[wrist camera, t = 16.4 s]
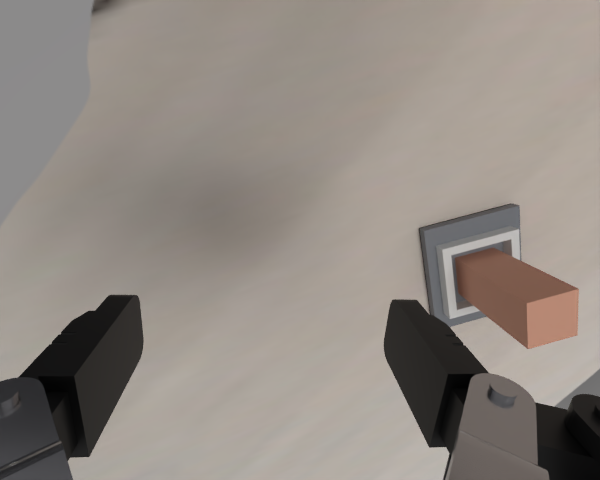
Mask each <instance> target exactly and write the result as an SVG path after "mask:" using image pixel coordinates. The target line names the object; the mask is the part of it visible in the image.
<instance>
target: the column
mask: <svg viewBox="0 0 600 480" xmlns="http://www.w3.org/2000/svg"><path fill="white" fill-rule="evenodd" d="M455 264H456V275H457V285H458V294H460V295H461V296H462V297H463V298H465V299H466V300H467V301H468V302H470V303H471V304H472V305H473V306H475V307H476V308H477V309H478V310H480V311H481V312H482V313H483V314H485V315H486V316H487V317H488V318H490V319H491V320H492V321H493V322H495V323H496V324H497V325H498V326H500V327H501V328H502V329H503V330H505V331H506V332H507V333H508V334H510V335H511V336H512V337H513V338H515V339H516V340H517V341H518V342H520V343H521V344H522V345H523V346H525V347H526V348H527V349H530V348H534V347H537V346H541V345H544V344H548V343H551V342H555V341H559V340H562V339H566V338H569V337H573V336H576V335H577V331H578V295H579V289H578V288H576V287H573V286H571V285H569V284H567V283H565V282H563V281H561V280H559V279H557V278H555V277H553V276H551V275H549V274H547V273H545V272H543V271H541V270H539V269H537V268H534V267H532V266H530V265H528V264H526V263H524V262H522V261H520V260H518V259H516V258H514V257H512V256H510V255H508V254H506V253H504V252H502V251H500V250H498V249H495V248H489V249H486V250H482V251H478V252H474V253H471V254H467V255H463V256H459V257H456V258H455Z"/></svg>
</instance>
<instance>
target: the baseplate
mask: <svg viewBox="0 0 600 480" xmlns="http://www.w3.org/2000/svg"><path fill="white" fill-rule="evenodd" d="M419 229H420V236H421V244H422V252H423V259H424V267H425V275H426V282H427V290H428V298H429V305H430V313H431V315H434V316H435V317H437V318H438V319H440V320H441V321H443V322H444V323H446V324H447V325H448V326H449V327H451V326H454V325H458V324H462V323H465V322H469V321H472V320H476V319H479V318H483V317H487V316H486V315H485V314H483V313H482V312H481V311H480V310H478V309H477V308H476V307H475V306H473V305H472V304H471V303H470V302H468V301H467V300H466V299H465V298H463V297H462V296H461V295H460V294H458V285H457V275H456V264H455V258H456V257H459V256H463V255H467V254H471V253H474V252H478V251H482V250H486V249H489V248H495V249H498V250H500V251H502V252H504V253H506V254H508V255H510V256H512V257H514V258H516V259H518V260H520V261H521V239H520V209H519V205H515V204H509V205H506V206H502V207H498V208H494V209H491V210H487V211H483V212H479V213H476V214H472V215H468V216H464V217H460V218H457V219H453V220H449V221H445V222H442V223H438V224H434V225H430V226H427V227H423V228H419Z"/></svg>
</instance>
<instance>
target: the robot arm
mask: <svg viewBox="0 0 600 480" xmlns="http://www.w3.org/2000/svg"><path fill="white" fill-rule="evenodd" d="M142 350H143V330H142V320H141V310H140V301H139V298H138V296H137V295H109V296H108V297H107V298H106V299H105V300H104V301H103V302H102V304H101V305H100V306H99V307H98V308H97V309H96V310H95V311H88V312H86V313H84V314H83V315H81V316H79V317H78V318H76V319H74V320H72V321H71V322H70V323H69V325H68V326H67V327H66V328H65V329H64V330H63V331H62V332H61V335H58V336H57V337H56V338H55V339H54V340H53V341H52V344H50V345H49V346H48V347H47V348H46V349H45V350H44V351H43V352H42V353H41V354H40V355H39V356H38V357H37V358H36V359H35V360H34V361H33V363H32V364H31V365H30V366H29V367H28V368H27V369H26V370H25V371H24V372H23V373H22V374H21V375H20V376H19V377H18V378H12V379H7V380H4V381H1V382H0V480H73V478H72V475H71V471H70V468H69V465H68V460H69V458H70V457H89V456H90V454H91V452H92V450H93V449H94V447H95V445H96V443H97V441H98V439H99V437H100V435H101V433H102V431H103V429H104V427H105V425H106V424H107V422H108V420H109V418H110V416H111V414H112V412H113V410H114V408H115V406H116V404H117V402H118V400H119V399H120V397H121V395H122V393H123V391H124V389H125V387H126V385H127V383H128V381H129V379H130V377H131V376H132V374H133V372H134V370H135V368H136V366H137V364H138V362H139V360H140V358H141V354H142ZM384 352H385V357H386V359H387V362H388V364H389V366H390V368H391V370H392V372H393V374H394V376H395V378H396V380H397V382H398V384H399V386H400V388H401V390H402V392H403V394H404V397H405V399H406V401H407V403H408V405H409V407H410V409H411V411H412V413H413V415H414V417H415V419H416V421H417V423H418V425H419V427H420V429H421V431H422V433H423V435H424V437H425V440H426V442H427V444H428V446H429V447H446V448H447V449H448V451H449V453H450V454H449V458H448V461H447V465H446V469H445V473H444V477H443V480H600V397H598V396H594V395H589V394H580V395H576V396H574V397H573V398H572V401H571V403H570V406H569V408H568V410H566V409H561V408H557V407H553V406H548V405H544V404H539V403H535V401H534V399H533V398H532V396H531V395H530V394H529V393H528V392H527V391H526V390H525V389H524V388H523V387H521V386H520V385H518V384H517V383H515V382H513V381H511V380H510V379H507V378H505V377H502V376H499V375H495V374H490V373H488V372H487V370H486V369H485V368H484V367H483V366H482V365H481V363H480V362H479V361H478V360H477V359H476V358H475V356H474V355H473V354H472V353H471V352H470V351H469V349H468V348H467V347H466V346H463V342H462V341H461V340H460V339H459V338H458V337H456V334H455V333H454V332H453V331H452V330H451V328H450V327H449V326H448V325H447V324H446V323H444V322H443V321H441V320H440V319H438V318H437V317H435V316H434V315H429V314H428V313H427V312H426V310H425V309H424V308H423V307H422V306H421V304H420V303H419V302H418V301H417V300H392V302H391V304H390V309H389V314H388V320H387V326H386V332H385V338H384Z"/></svg>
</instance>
